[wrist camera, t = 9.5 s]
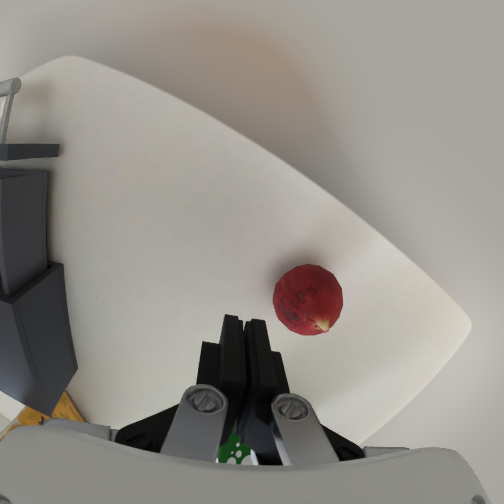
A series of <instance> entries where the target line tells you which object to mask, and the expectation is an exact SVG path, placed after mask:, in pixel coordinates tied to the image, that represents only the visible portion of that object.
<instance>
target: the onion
mask: <svg viewBox="0 0 504 504" xmlns="http://www.w3.org/2000/svg"><path fill="white" fill-rule="evenodd" d="M273 305H274V309H275V312H276V315H277V317H278V319H279V320H280V321H281V322H282V323H283V324H284V325H285V326H286V327H287V328H288V329H289V330H291V331H293V332H295V333H298V334H300V335H317V334H321V333H326V332H328V331H329V329H330V328H331V327H332V326H333V325H334V323H335V322H336V321H337V319H338V318H339V316H340V313H341V310H342V307H343V296H342V288H341V286H340V284H339V283H338V281H337V279H336V278H335V276H334V274H332V273H331V272H329V271H327V270H326V269H324V268H322V267H320V266H316V265H310V264H307V265H302V266H297V267H295V268H293V269H291V270H290V271H288V272H286V273H285V274H284V275H283V276H282V277H281V279H280V280H279V281H278V282H277V284H276V286H275V290H274V294H273Z"/></svg>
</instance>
